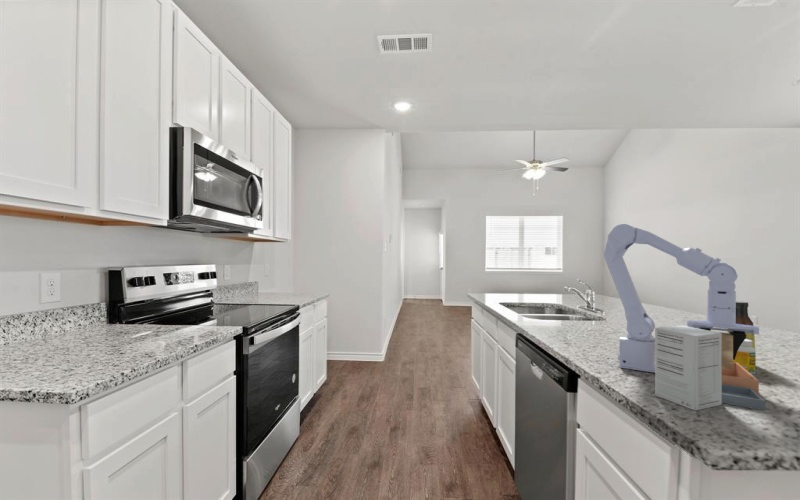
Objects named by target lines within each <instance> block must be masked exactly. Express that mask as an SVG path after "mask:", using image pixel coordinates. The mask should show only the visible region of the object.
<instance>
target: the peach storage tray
mask: <svg viewBox="0 0 800 500" xmlns="http://www.w3.org/2000/svg"><path fill="white" fill-rule="evenodd" d="M721 373H722V384H726V385H733V386H739V387H746V388H752V389H753V390H754V391H755V392H756V393H757V394H758V395H759V394H760V392H759V391H760V389H759V388H760V387H759V385H760V380H759V379H757V378H756V377H755V375H754V374H750V373H749V372H748V371H747V370H746V369H744V368H743V367H742V366H741V365H740V364H739V363H736V362H733V370H732V369H724V368H722V372H721ZM759 396H760V395H759Z"/></svg>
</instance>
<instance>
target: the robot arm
mask: <svg viewBox="0 0 800 500" xmlns="http://www.w3.org/2000/svg"><path fill="white" fill-rule="evenodd" d="M634 244H637V245H649V246H650V247H652V248H654V249H657V250H658V251H661V252H663V253H665V254H667V255H669V256H672V257H674V258H675V259H676V263H677V265H678V266H681V267H683V268H685V269H687V270H689V271H691V272H693V273H695V274H696V275H698V276H701V277H707V279H708V280H709V281H708V289H707V307H706V309H707V316H706V317H707V320H691V319H690V320H689V319H687V320H686V326H688V327H693V328H698V329H704V330H709V331H719V332H728V331H730V332H729V333H730V334H731V335H733V360H735V357H736V354H737V351H738V349H739V347H740V345H741V344H742V343H743V341H744V340H745V339H746V334H745V333H752V334H754V335H758V336H759V335H760V326H759V327H758V326H756V325H753V326H751V325H742V324H736V301H737V300H736V299H737V292H736V284H735V282H736V281H737V279H738V274H737V271H736V269H735V268H734V267H733V266H732V265H729V264H728V263H726V262H721V261H722V259H721V258H719V257H716V258H714V257H713V256H711V255H708V254H707V253H704V252H702V251H703V250H702V249H700V248H699V247H696V248H694V247H692V246H691V247H685V248H681V247H680V246H678V245H676V244H674V243H672V242H669V241H668V240H667V239H664V238H662V237H660V236H658V235H656V234H654V233H652V232H650V231H648V230H644V229H641V228H639V227H634V226H632V225H630V224H628V223H620V224H617V225H616V226H614V227H613V228H612V230H611V231H610V232H609V234H608V235H607V241H606V244H605V249H604V252H603V257H604V260H605V262H606V263H605V264H606V265H607V267H608V270H609V273H610V275H611V277H612V280H613V284H614V285H615V288H616V292H617V293H618V296H619V298H620V302H621V304H622V306H623V309H624V316H625V319H626V322H627V323H626V331H627V334H626V336H618V338H619V339H618V342H619V343H618V346H619V347H618V354H617V360H618V362H619V363H618V364H619V368H621V369H626V370H627V369H628V370H634V371H642V372H649V373H654V374H655V336H653V334H652V333H653V331H655V328H656V325H655V324H656V323H655V322H654V320H653V319H652V318H651V317H650V316H649V315H648V314H647V311H646V309H645V307H644V306H643V304H642V302H641V299H640V297H639V295H638V292H637V289H636V287H635V285H634V282H633V280H632V277H631V274H630V273H629V269H628V267H627V264H626V262H625V259H624V255H625V254H626V252H627V251H628V249H629V248H630V247H631V246H633V245H634ZM732 329H733V330H732Z"/></svg>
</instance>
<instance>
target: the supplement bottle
mask: <svg viewBox="0 0 800 500" xmlns="http://www.w3.org/2000/svg"><path fill="white" fill-rule="evenodd" d="M752 345H753V344H752V340H748V339H745V340H744V341H743V343H742V344H741V345H740V347H739V349H738V351H737V354H736V357H735V360H733V362H736V363H739V364H740V365H741V366H742V367H743V368H744V369H746V370H747V371H748V372H749V373H750V374H752V375H755V374H756V370H757V369H756V367H757V365H756V364H757V363H756V360H757V359H756V357H757V356H756V353H757V352H756V348H755V349H754V348H752V347H751V346H752Z"/></svg>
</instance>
